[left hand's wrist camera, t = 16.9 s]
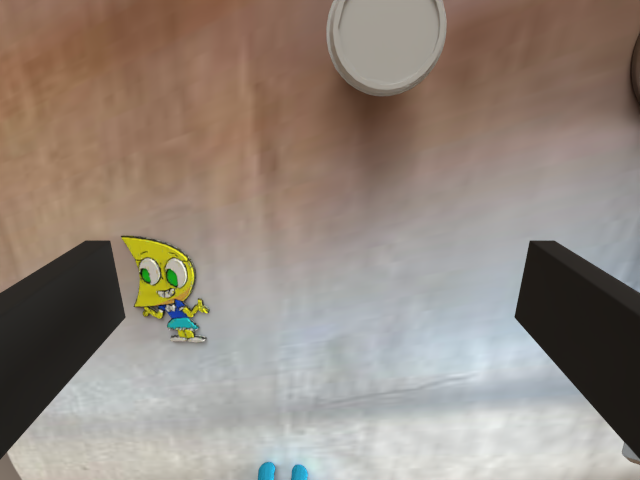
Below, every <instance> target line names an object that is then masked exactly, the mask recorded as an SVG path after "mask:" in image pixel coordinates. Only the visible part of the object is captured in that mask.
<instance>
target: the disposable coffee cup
mask: <svg viewBox="0 0 640 480" xmlns="http://www.w3.org/2000/svg"><path fill="white" fill-rule="evenodd" d="M446 25H447V22H446V13H445V8H444V5H443V1H442V0H334V1H333V3H332V6H331V9H330V12H329V15H328V21H327V28H326V31H327V45H328V51H329V54H330V57H331V60H332V62H333V64H334V66H335V68H336V70H337V71H338V73H339V74H340V75H341V76H342V78H343V79H344V80H345V81H346V82H347V83H348V84H350V85H351V86H353V87H354V88H355V89H357V90H359V91H361V92H364V93H366V94H369V95H374V96H392V95H396V94H400V93H403V92H405V91H407V90H410V89H412V88H413V87H414V86H416V85H417V84H419V83H420V82H421V81H422V80H423V79H424V78H425V77H426V76H427V75H428V74H429V73H430V72H431V70H432V69H433V68H434V66H435V64H436V63H437V61H438V59H439V57H440V54H441V52H442V50H443V46H444V42H445V37H446Z"/></svg>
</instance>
